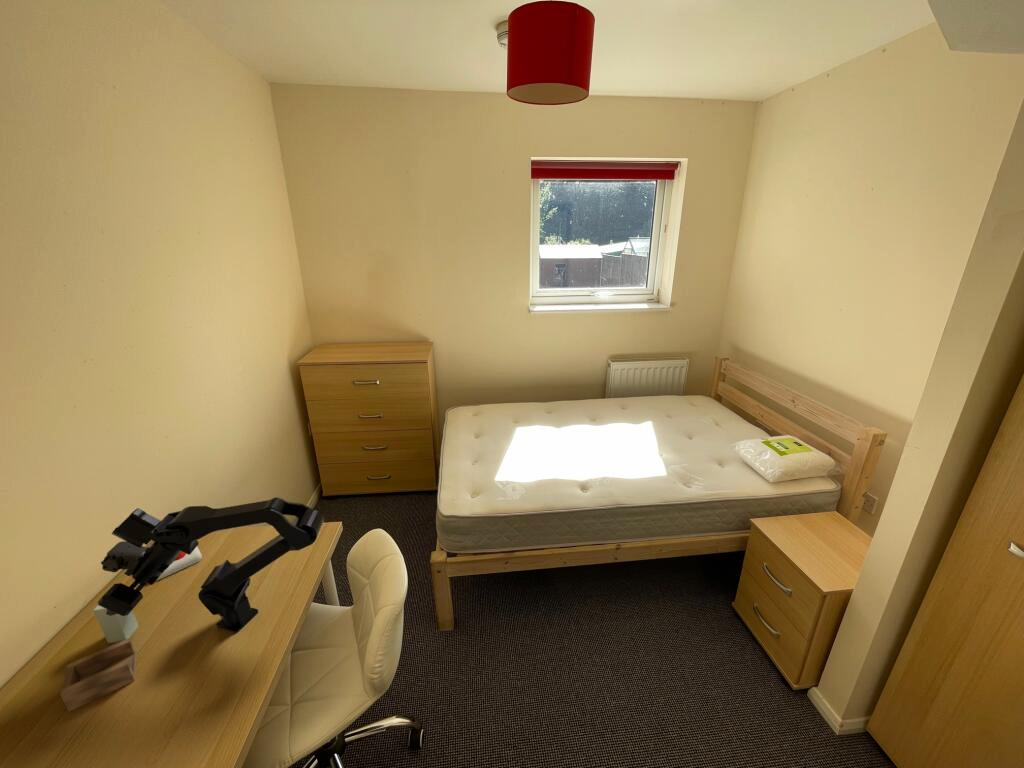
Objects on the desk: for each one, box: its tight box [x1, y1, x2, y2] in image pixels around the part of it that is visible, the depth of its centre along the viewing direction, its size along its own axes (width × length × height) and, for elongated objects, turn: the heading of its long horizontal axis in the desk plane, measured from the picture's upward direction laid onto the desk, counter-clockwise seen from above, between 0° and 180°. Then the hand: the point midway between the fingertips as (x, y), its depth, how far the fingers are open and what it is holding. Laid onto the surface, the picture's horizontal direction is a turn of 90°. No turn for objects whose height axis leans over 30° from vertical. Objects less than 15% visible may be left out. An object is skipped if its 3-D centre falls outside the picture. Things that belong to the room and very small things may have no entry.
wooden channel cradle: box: [59, 638, 137, 713], centre depth 89 cm, size 10×8×5 cm
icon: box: [155, 546, 203, 582], centre depth 122 cm, size 12×4×10 cm
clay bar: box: [92, 604, 139, 644], centre depth 99 cm, size 4×4×10 cm
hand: (123, 597), depth 97 cm, fingers open, 9 cm apart
